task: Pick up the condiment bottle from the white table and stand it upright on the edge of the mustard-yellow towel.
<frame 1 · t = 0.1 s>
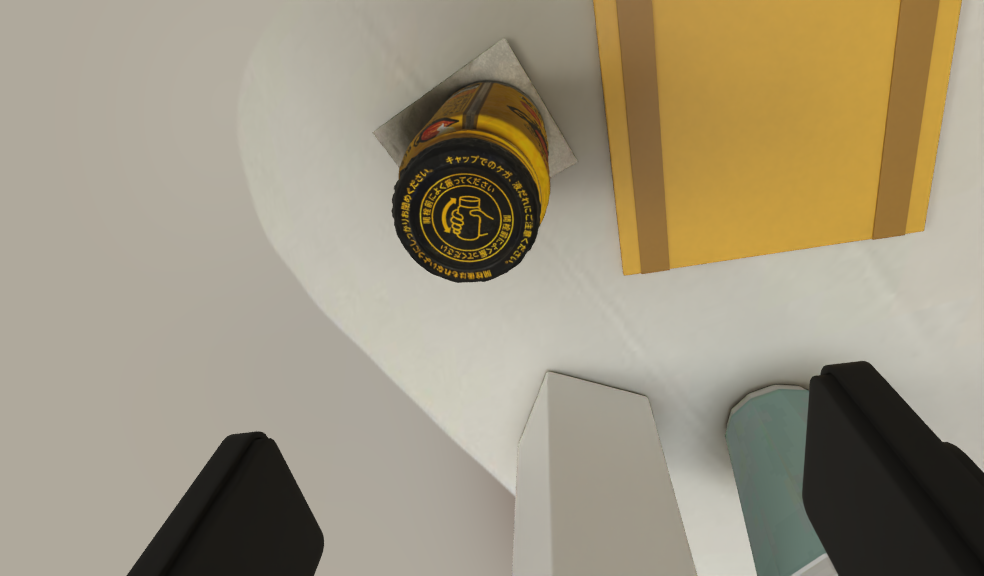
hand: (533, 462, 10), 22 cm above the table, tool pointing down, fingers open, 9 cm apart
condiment: (476, 145, 29), on the table
milk carton: (580, 418, 38), on the table
disposable coffee cup: (775, 420, 37), on the table
towel: (769, 45, 26), on the table
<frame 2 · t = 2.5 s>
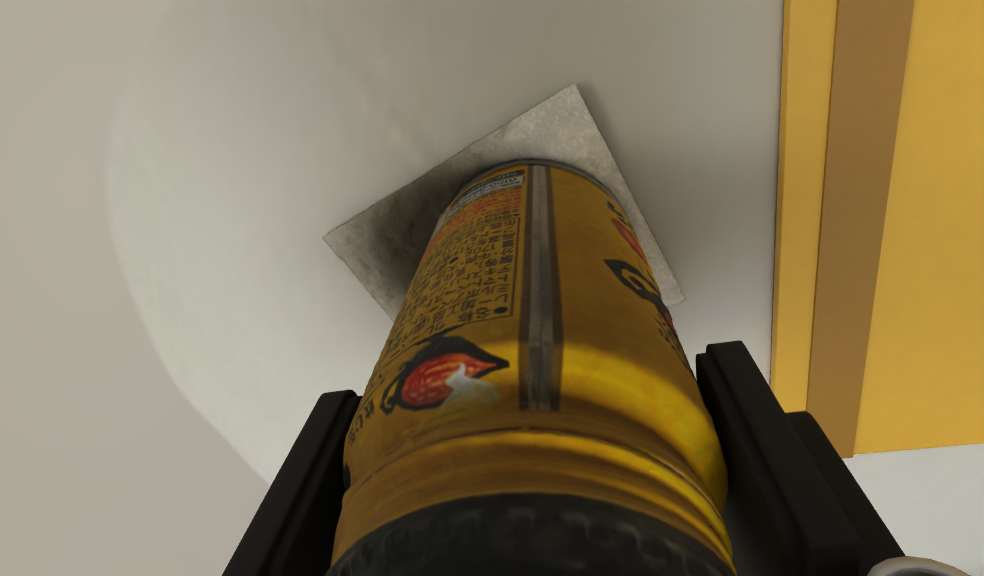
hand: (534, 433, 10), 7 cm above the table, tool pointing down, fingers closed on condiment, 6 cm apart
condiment: (506, 262, 17), on the table, touching gripper
when the fingers open (8 cm above the table, at t = 9.5 s): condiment stays where it is, resting on towel.
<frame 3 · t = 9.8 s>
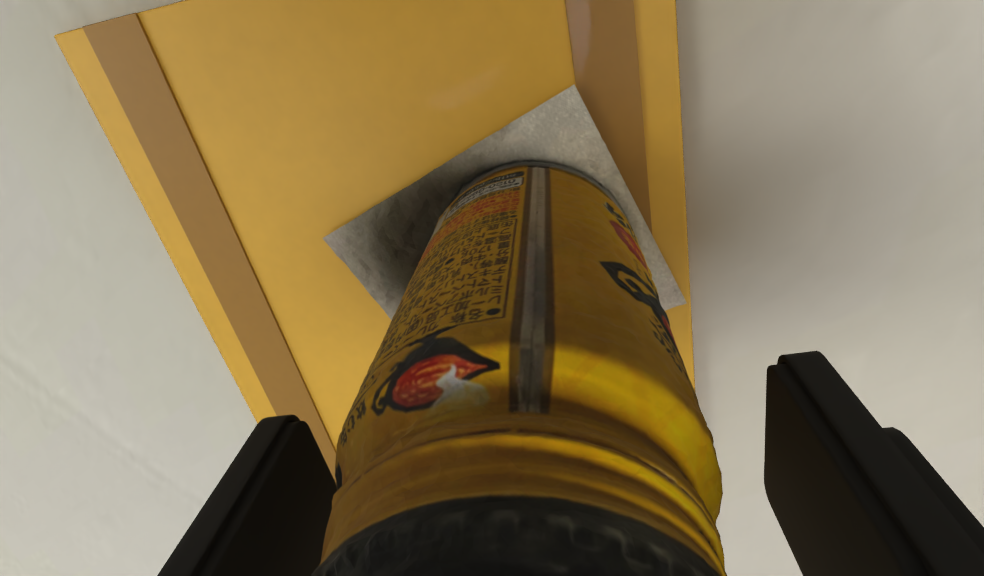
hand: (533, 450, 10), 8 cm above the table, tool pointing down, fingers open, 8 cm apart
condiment: (506, 263, 17), resting on towel
towel: (444, 331, 18), on the table
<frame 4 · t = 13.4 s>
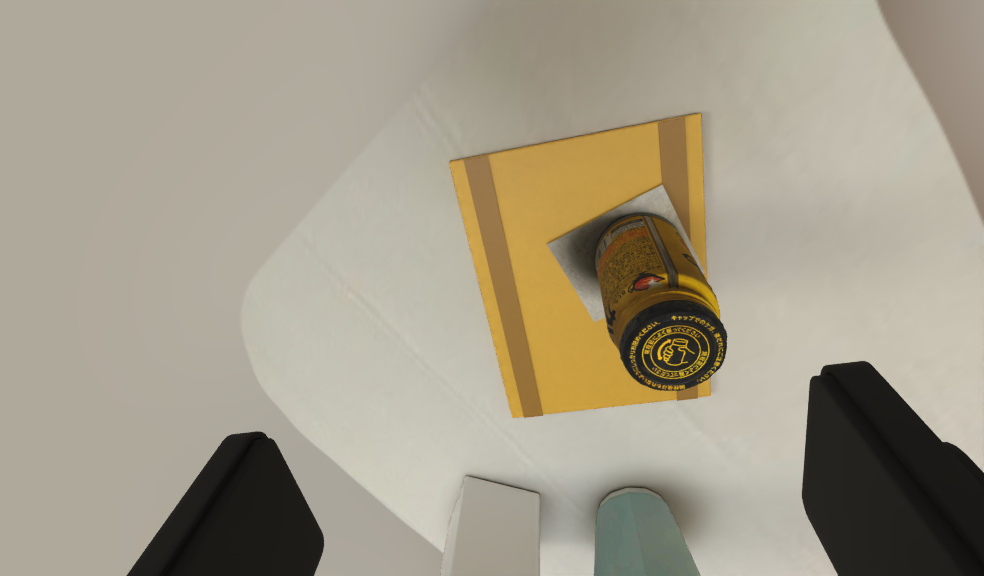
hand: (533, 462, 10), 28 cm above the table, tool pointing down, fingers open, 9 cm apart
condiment: (625, 255, 38), resting on towel
milk carton: (493, 506, 51), on the table
disposable coffee cup: (634, 509, 50), on the table
towel: (591, 287, 39), on the table
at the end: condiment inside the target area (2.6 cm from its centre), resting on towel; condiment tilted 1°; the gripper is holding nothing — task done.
